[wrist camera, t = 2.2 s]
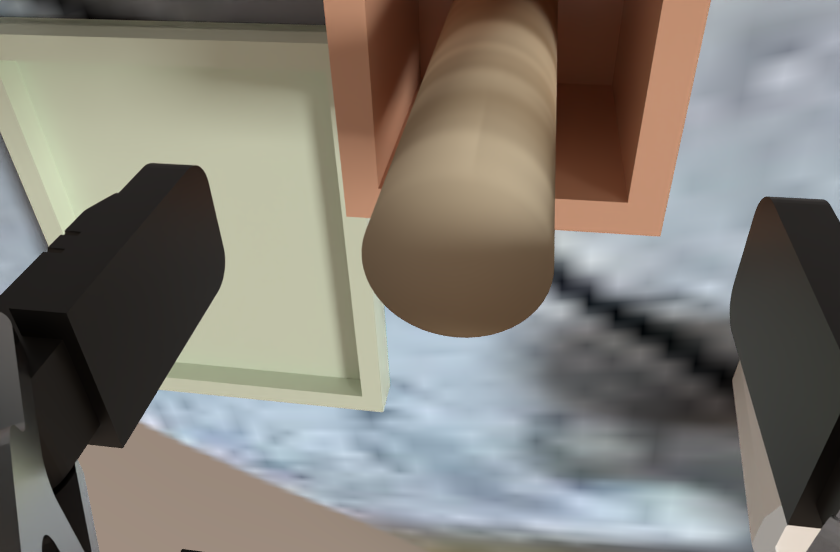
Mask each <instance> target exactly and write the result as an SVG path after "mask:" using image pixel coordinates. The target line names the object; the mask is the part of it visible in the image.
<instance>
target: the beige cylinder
mask: <svg viewBox="0 0 840 552" xmlns="http://www.w3.org/2000/svg"><path fill="white" fill-rule="evenodd" d="M732 383H733V391H734V399H735V408H736V416H737V424H738V433H739V441H740V450H741V458H742V466H743V475H744V483H745V491H746V500H747V508H748V516H749V525H750V533H751V541H752V546H753V550H754V552H806V551H807V550H808V548H809V547H810V545H811V544H812V542H813V541H814V539H815V538H816V536H817V535H818V533H819V532H820V530H821V529H818V528H809V527H800V526H791V525H787V522H786V519H785V515H784V512H783V508H782V505H781V501H780V498H779V494H778V491H777V487H776V484H775V480H774V477H773V474H772V470H771V467H770V463H769V460H768V456H767V453H766V449H765V446H764V442H763V439H762V435H761V432H760V428H759V425H758V421H757V418H756V414H755V411H754V407H753V404H752V400H751V397H750V393H749V390H748V386H747V383H746V380H745V376H744V373H743V369H742V366H741V362H740V360H739V363H738V366H737V368H736V371H735V374H734V377H733V379H732Z"/></svg>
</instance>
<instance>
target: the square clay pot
mask: <svg viewBox="0 0 840 552" xmlns="http://www.w3.org/2000/svg"><path fill="white" fill-rule="evenodd" d="M452 2H453V0H323V3H324V12H325V21H326V31H327V40H328V49H329V59H330V68H331V77H332V87H333V96H334V105H335V114H336V124H337V133H338V142H339V152H340V161H341V170H342V180H343V189H344V198H345V208H346V217H360V218H371V215H372V213H373V210H374V207H375V205H376V202H377V199H378V197H379V194H380V191H381V189H382V186H383V184H384V181H385V178H386V176H387V173H388V170H389V168H390V165H391V162H392V160H393V157H394V155H395V152H396V149H397V147H398V144H399V141H400V139H401V136H402V134H403V131H404V128H405V126H406V123H407V120H408V118H409V115H410V112H411V110H412V107H413V105H414V102H415V99H416V97H417V94H418V91H419V89H420V86H421V84H422V81H423V78H424V76H425V73H426V70H427V68H428V65H429V62H430V60H431V57H432V55H433V52H434V49H435V47H436V44H437V41H438V39H439V36H440V33H441V31H442V28H443V26H444V23H445V20H446V18H447V15H448V12H449V10H450V7H451V5H452ZM710 2H711V0H558V30H557V98H556V166H555V230H566V231H582V232H598V233H614V234H630V235H646V236H660V235H661V230H662V226H663V221H664V216H665V212H666V207H667V202H668V198H669V193H670V188H671V184H672V179H673V174H674V170H675V165H676V160H677V156H678V151H679V146H680V142H681V137H682V132H683V128H684V123H685V118H686V114H687V109H688V104H689V100H690V95H691V90H692V86H693V81H694V76H695V72H696V67H697V62H698V58H699V53H700V48H701V44H702V39H703V34H704V30H705V25H706V20H707V16H708V11H709V6H710Z"/></svg>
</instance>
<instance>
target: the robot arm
mask: <svg viewBox="0 0 840 552" xmlns="http://www.w3.org/2000/svg"><path fill="white" fill-rule="evenodd" d="M224 272H225V252H224V247H223V242H222V238H221V234H220V229H219V225H218V221H217V216H216V212H215V208H214V203H213V199H212V195H211V190H210V186H209V182H208V178H207V176H206V173H205V172H204V170H203V169H202V168H201V167H200V166H197V165H182V164H163V163H149V164H146V165H145V166H144V167H143V168H142V169H141V170H140V171H139V172H138V173H137V174H136V175H135V176H134V177H133V178H132V179H131V180H130V181H129V183H128V184H127V185H126V186H125V187H124V188H123V189H122V190H121V191H120V192H119V193H114V194H112V195H111V196H109V197H107V198H105V199H104V200H102V201H100V202H98V203H96V204H95V205H93V206H91V207H89V208H88V209H86V210H84V211H83V212H82V213H81V214H80V215H79V216H78V217H77V218H76V219H75V220H74V221H73V223H72V224H71V225H70V226H69V227H68V228H67V229H66V230H65V234H64V235H60V236H59V237H58V238H57V239H56V240H55V241H54V242H53V243H52V244H51V245H50V246H49V247H48V252H43V253H42V254H41V255H40V256H39V257H38V258H37V259H36V260H35V261H34V262H33V263H32V264H31V265H30V266H29V267H28V268H27V269H26V270H25V271H24V272H23V273H22V274H21V275H20V276H19V277H18V278H17V279H16V280H15V281H14V282H13V283H12V284H11V285H10V286H9V287H8V288H7V289H6V290H5V291H4V292H3V293H2V294H1V295H0V552H99V547H98V542H97V537H96V532H95V527H94V522H93V517H92V512H91V507H90V502H89V497H88V493H87V487H86V483H85V478H84V473H83V471H82V468H81V466H80V464H79V462H78V460H77V459H78V458H79V456H80V455H81V453H82V452H83V450H84V449H85V447H86V446H87V444H90V445H98V446H107V447H117V448H123V447H124V445H125V444H126V442H127V440H128V439H129V437H130V436H131V434H132V432H133V431H134V429H135V427H136V426H137V424H138V422H139V421H140V419H141V418H142V416H143V414H144V413H145V411H146V409H147V408H148V406H149V404H150V403H151V401H152V400H153V398H154V396H155V395H156V393H157V391H158V390H159V388H160V386H161V385H162V383H163V381H164V380H165V378H166V377H167V375H168V373H169V372H170V370H171V368H172V367H173V365H174V363H175V362H176V360H177V358H178V357H179V355H180V354H181V352H182V350H183V349H184V347H185V345H186V344H187V342H188V340H189V339H190V337H191V335H192V334H193V332H194V331H195V329H196V327H197V326H198V324H199V322H200V321H201V319H202V317H203V316H204V314H205V312H206V311H207V309H208V308H209V306H210V304H211V303H212V301H213V299H214V298H215V296H216V294H217V293H218V291H219V289H220V287H221V284H222V281H223V277H224ZM730 324H731V330H732V334H733V338H734V341H735V345H736V348H737V352H738V355H739V359H740V362H741V366H742V369H743V373H744V376H745V380H746V383H747V386H748V390H749V393H750V397H751V400H752V404H753V407H754V411H755V414H756V418H757V421H758V425H759V428H760V432H761V435H762V439H763V442H764V446H765V449H766V453H767V456H768V460H769V463H770V467H771V470H772V474H773V477H774V480H775V484H776V487H777V491H778V494H779V498H780V501H781V505H782V508H783V512H784V515H785V519H786V522H787V525H791V526H800V527H809V528H818V529H821V530H820V532H819V533H818V535H817V536H816V538H815V539H814V541H813V542H812V544H811V545H810V547H809V548H808V550H807V551H806V552H840V221H839V220H838V218H837V216H836V214H835V213H834V211H833V209H832V207H831V206H830V204H829V203H828V202H827V201H826V200H822V199H803V198H784V197H764V198H763V199H762V200H761V201H760V203H759V204H758V206H757V209H756V211H755V214H754V218H753V221H752V225H751V228H750V231H749V235H748V238H747V241H746V245H745V248H744V251H743V255H742V258H741V262H740V265H739V268H738V272H737V275H736V278H735V282H734V285H733V289H732V294H731V301H730ZM181 552H200V551H193V550H185V549H182V550H181Z"/></svg>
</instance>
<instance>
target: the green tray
mask: <svg viewBox="0 0 840 552" xmlns="http://www.w3.org/2000/svg"><path fill="white" fill-rule="evenodd" d="M0 132H1V134H2V137H3V139H4V142H5V144H6V146H7V149H8V151H9V153H10V156H11V158H12V161H13V163H14V165H15V168H16V170H17V172H18V175H19V177H20V180H21V182H22V184H23V187H24V189H25V191H26V194H27V196H28V199H29V201H30V203H31V206H32V208H33V210H34V213H35V215H36V218H37V220H38V222H39V225H40V227H41V229H42V232H43V234H44V237H45V239H46V241H47V244H48V246H50V245H51V244H52V243H53V242H54V241H55V240H56V239H57V238H58V237H59V236H60V235H64V234H65V230H66V229H67V228H68V227H69V226H70V225H71V224H72V223H73V221H74V220H75V219H76V218H77V217H78V216H79V215H80V214H81V213H82V212H83V211H84V210H86V209H88V208H89V207H91V206H93V205H95V204H96V203H98V202H100V201H102V200H104V199H105V198H107V197H109V196H111V195H112V194H114V193H119V192H120V191H121V190H122V189H123V188H124V187H125V186H126V185H127V184H128V183H129V181H130V180H131V179H132V178H133V177H134V176H135V175H136V174H137V173H138V172H139V171H140V170H141V169H142V168H143V167H144V166H145V165H146V164H149V163H163V164H182V165H197V166H200V167H201V168H202V169H203V170H204V172H205V173H206V176H207V178H208V182H209V186H210V190H211V195H212V199H213V203H214V208H215V212H216V216H217V221H218V225H219V229H220V234H221V238H222V242H223V247H224V252H225V272H224V277H223V281H222V284H221V287H220V289H219V291H218V293H217V294H216V296H215V298H214V299H213V301H212V303H211V304H210V306H209V308H208V309H207V311H206V312H205V314H204V316H203V317H202V319H201V321H200V322H199V324H198V326H197V327H196V329H195V331H194V332H193V334H192V335H191V337H190V339H189V340H188V342H187V344H186V345H185V347H184V349H183V350H182V352H181V354H180V355H179V357H178V358H177V360H176V362H175V363H174V365H173V367H172V368H171V370H170V372H169V373H168V375H167V377H166V378H165V380H164V381H163V383H162V385H161V386H160V388H159V390H168V391H178V392H188V393H198V394H208V395H218V396H228V397H238V398H248V399H257V400H267V401H277V402H287V403H297V404H307V405H317V406H327V407H337V408H347V409H357V410H367V411H377V412H383V411H384V407H385V403H386V399H387V395H388V391H389V388H390V377H389V364H388V350H387V337H386V324H385V311H384V304H383V303H382V302H381V301H380V300H379V298H378V297H377V296H376V294H375V293H374V291H373V290H372V288H371V287H370V285H369V283H368V281H367V278H366V275H365V272H364V269H363V264H362V251H361V249H362V242H363V237H364V234H365V231H366V228H367V226H368V223H369V220H370V218H360V217H346V208H345V198H344V189H343V180H342V170H341V161H340V152H339V142H338V133H337V124H336V114H335V105H334V96H333V87H332V77H331V68H330V59H329V49H328V40H327V31H326V25H304V24H264V23H224V22H185V21H145V20H105V19H66V18H26V17H0Z"/></svg>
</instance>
